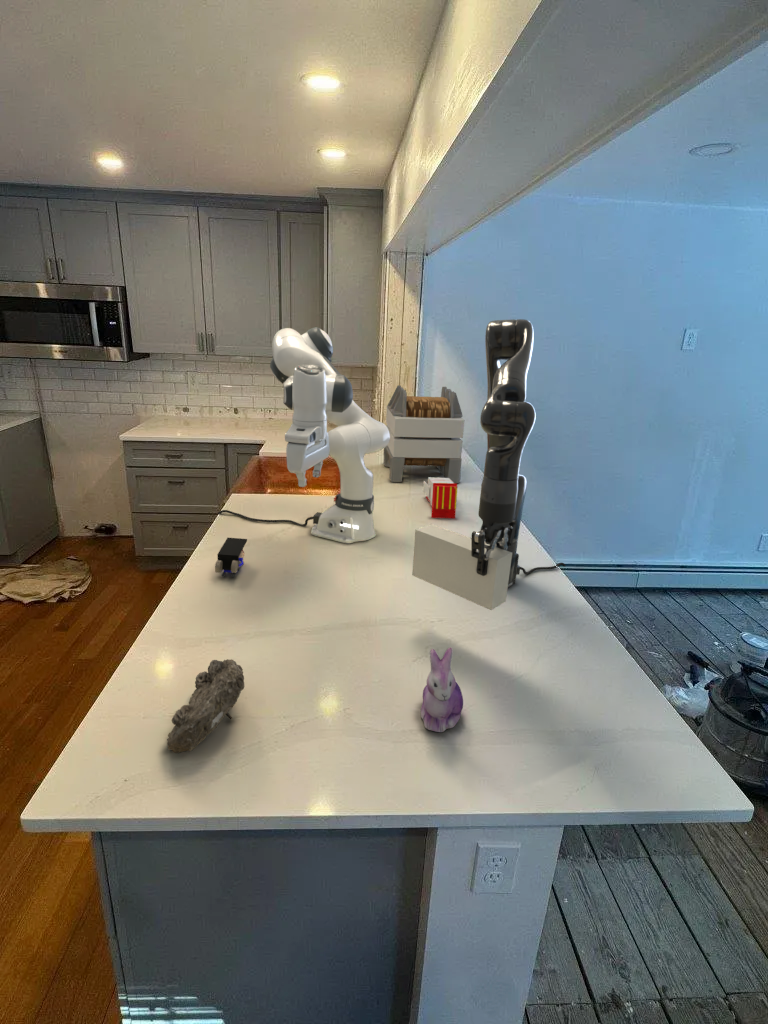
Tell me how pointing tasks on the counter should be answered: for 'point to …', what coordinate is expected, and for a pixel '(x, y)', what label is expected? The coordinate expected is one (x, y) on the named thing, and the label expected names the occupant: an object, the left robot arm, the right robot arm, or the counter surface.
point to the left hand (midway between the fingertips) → (309, 481)
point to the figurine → (441, 695)
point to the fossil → (206, 705)
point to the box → (460, 566)
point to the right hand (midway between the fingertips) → (489, 569)
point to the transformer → (424, 433)
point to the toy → (441, 497)
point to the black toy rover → (230, 556)
